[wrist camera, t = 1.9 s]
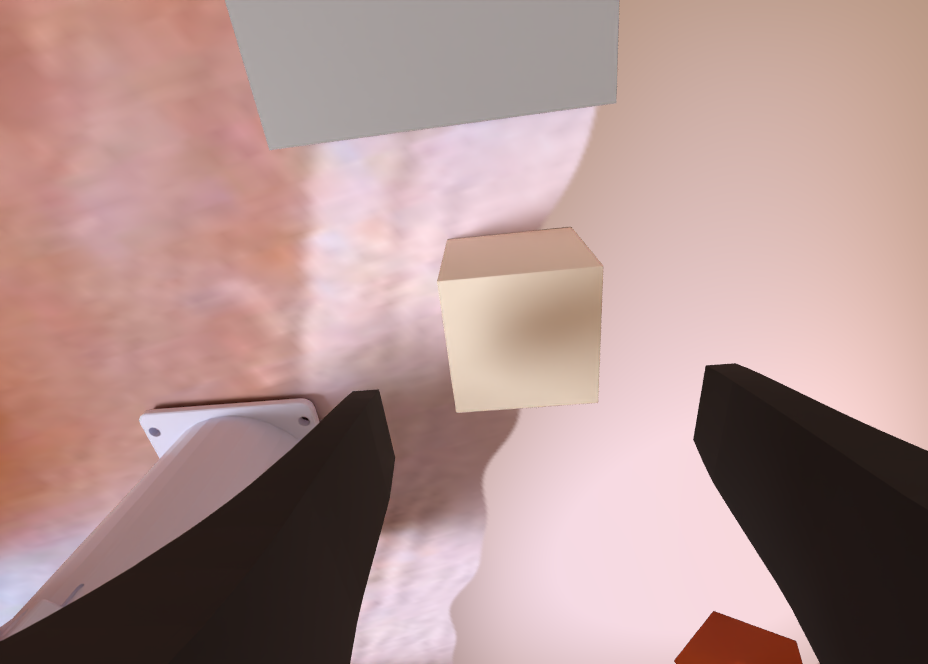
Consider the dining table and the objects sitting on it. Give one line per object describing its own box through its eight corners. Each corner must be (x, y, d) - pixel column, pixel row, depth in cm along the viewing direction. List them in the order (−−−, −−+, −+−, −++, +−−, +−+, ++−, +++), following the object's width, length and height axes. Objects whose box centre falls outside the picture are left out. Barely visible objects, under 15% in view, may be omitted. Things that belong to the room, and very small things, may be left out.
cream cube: (570, 336, 18) (598, 402, 14) (461, 345, 18) (456, 412, 14) (570, 226, 16) (603, 265, 12) (447, 239, 16) (437, 281, 12)
